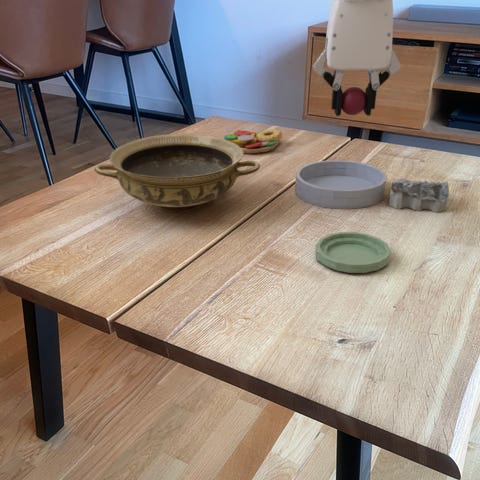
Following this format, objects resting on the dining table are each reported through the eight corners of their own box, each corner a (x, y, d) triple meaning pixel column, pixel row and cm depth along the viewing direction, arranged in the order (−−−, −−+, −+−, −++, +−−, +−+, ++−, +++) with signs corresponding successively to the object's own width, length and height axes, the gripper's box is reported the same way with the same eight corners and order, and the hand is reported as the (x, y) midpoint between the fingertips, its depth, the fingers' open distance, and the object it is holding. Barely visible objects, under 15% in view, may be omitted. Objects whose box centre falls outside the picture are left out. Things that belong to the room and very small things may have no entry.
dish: (374, 175, 117) (376, 159, 115) (393, 208, 103) (396, 190, 101) (292, 176, 117) (293, 160, 115) (299, 209, 103) (300, 191, 101)
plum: (363, 111, 95) (365, 84, 93) (367, 117, 92) (370, 89, 89) (337, 111, 96) (339, 84, 93) (340, 118, 92) (342, 90, 89)
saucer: (380, 241, 91) (381, 231, 90) (395, 275, 82) (397, 264, 81) (312, 242, 91) (313, 232, 90) (320, 275, 82) (320, 264, 81)
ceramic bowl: (89, 233, 95) (78, 177, 90) (111, 184, 115) (104, 135, 109) (263, 229, 96) (264, 173, 90) (256, 180, 116) (256, 132, 110)
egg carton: (385, 208, 103) (388, 187, 101) (389, 193, 109) (392, 173, 106) (446, 214, 100) (450, 192, 98) (446, 199, 106) (450, 178, 104)
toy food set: (286, 142, 138) (287, 128, 136) (269, 157, 128) (269, 143, 126) (236, 137, 142) (236, 124, 140) (216, 152, 132) (216, 138, 130)
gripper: (414, -15, 86) (397, 107, 96) (305, -13, 87) (300, 109, 97) (426, -12, 80) (407, 119, 90) (309, -10, 81) (303, 120, 91)
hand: (352, 112), depth 93 cm, fingers closed on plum, 4 cm apart
